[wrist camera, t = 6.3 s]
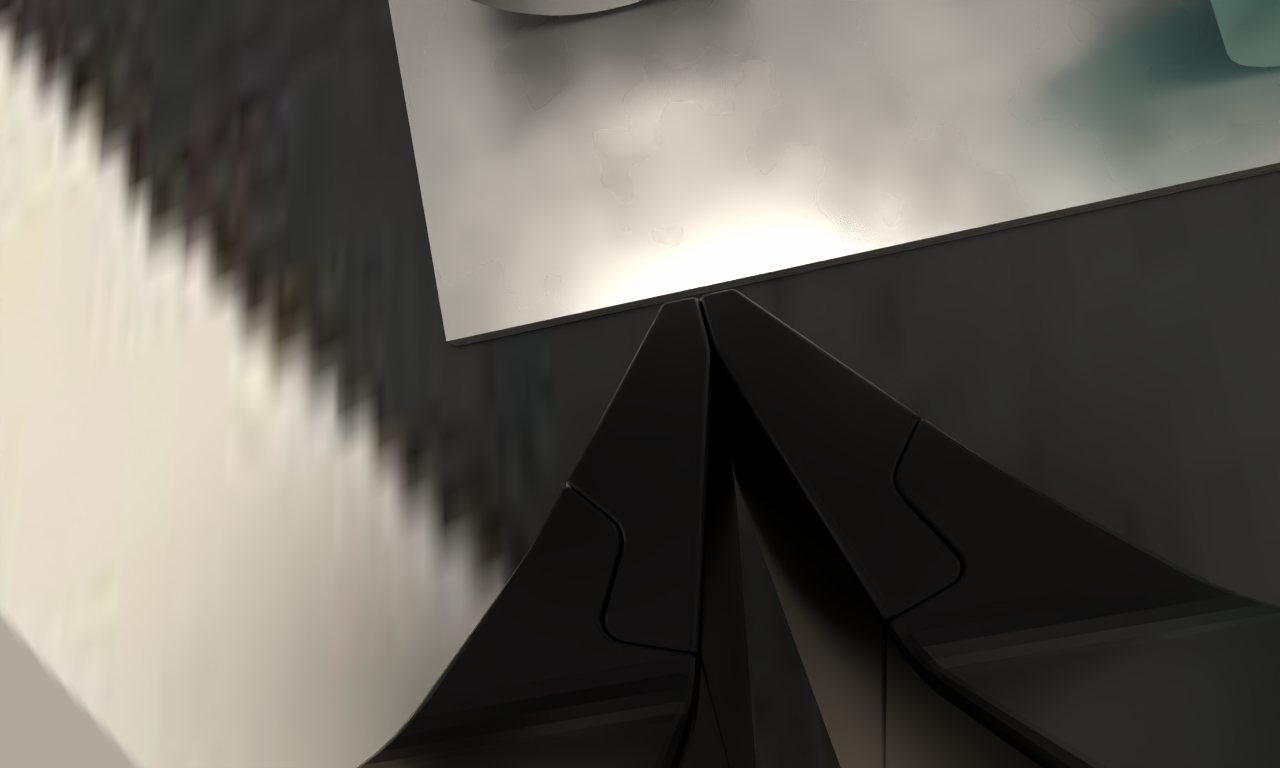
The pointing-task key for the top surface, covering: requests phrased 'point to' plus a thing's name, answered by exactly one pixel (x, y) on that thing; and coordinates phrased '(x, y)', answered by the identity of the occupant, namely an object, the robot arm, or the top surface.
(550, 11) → the dark grey rounded piece
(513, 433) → the top surface
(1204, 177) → the mount
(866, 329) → the top surface
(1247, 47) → the teal knob
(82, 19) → the top surface
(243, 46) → the top surface
